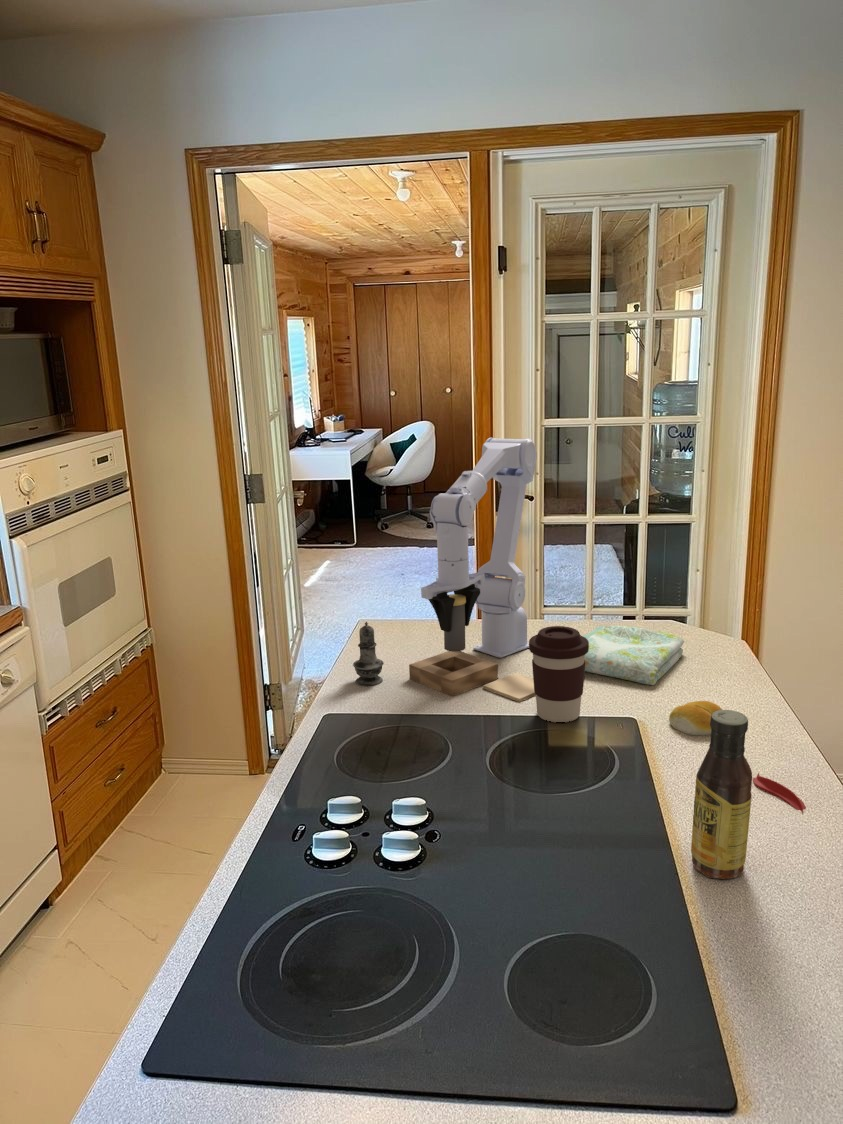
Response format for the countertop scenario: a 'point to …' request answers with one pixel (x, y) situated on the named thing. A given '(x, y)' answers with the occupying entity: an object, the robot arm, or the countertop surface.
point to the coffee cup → (558, 672)
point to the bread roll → (693, 717)
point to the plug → (456, 625)
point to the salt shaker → (368, 659)
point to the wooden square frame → (443, 679)
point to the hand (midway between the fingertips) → (454, 627)
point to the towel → (632, 653)
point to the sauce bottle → (722, 800)
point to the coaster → (513, 687)
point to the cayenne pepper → (779, 792)
